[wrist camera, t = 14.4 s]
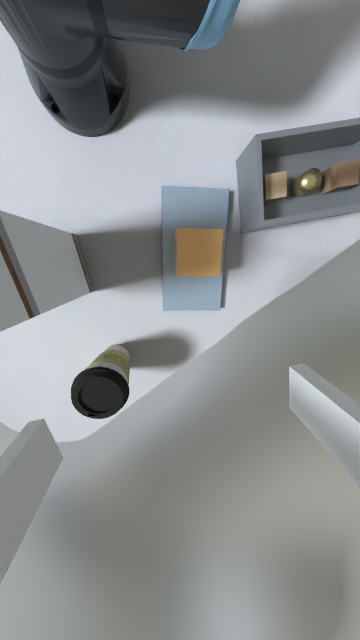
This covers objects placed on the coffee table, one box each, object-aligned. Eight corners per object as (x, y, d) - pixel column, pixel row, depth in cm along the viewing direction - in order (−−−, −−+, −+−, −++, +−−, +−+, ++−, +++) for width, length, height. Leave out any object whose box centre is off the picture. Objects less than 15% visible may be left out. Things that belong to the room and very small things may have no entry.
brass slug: (289, 178, 38) (303, 169, 34) (306, 175, 38) (322, 166, 34) (289, 198, 39) (303, 192, 35) (306, 196, 39) (321, 188, 35)
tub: (236, 160, 37) (255, 134, 29) (353, 141, 38) (401, 111, 30) (241, 232, 41) (259, 226, 33) (347, 213, 42) (388, 202, 34)
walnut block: (321, 171, 38) (339, 161, 34) (340, 168, 38) (360, 158, 35) (320, 194, 39) (337, 187, 36) (339, 191, 40) (358, 183, 36)
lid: (163, 308, 45) (163, 318, 37) (161, 189, 38) (162, 171, 30) (217, 307, 46) (229, 317, 38) (226, 192, 39) (242, 176, 31)
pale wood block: (254, 183, 38) (265, 174, 34) (273, 180, 38) (286, 170, 34) (255, 206, 39) (265, 200, 35) (274, 202, 39) (286, 196, 35)
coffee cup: (142, 344, 46) (134, 381, 32) (131, 378, 49) (118, 426, 34) (101, 332, 44) (73, 366, 30) (91, 368, 47) (61, 415, 32)
